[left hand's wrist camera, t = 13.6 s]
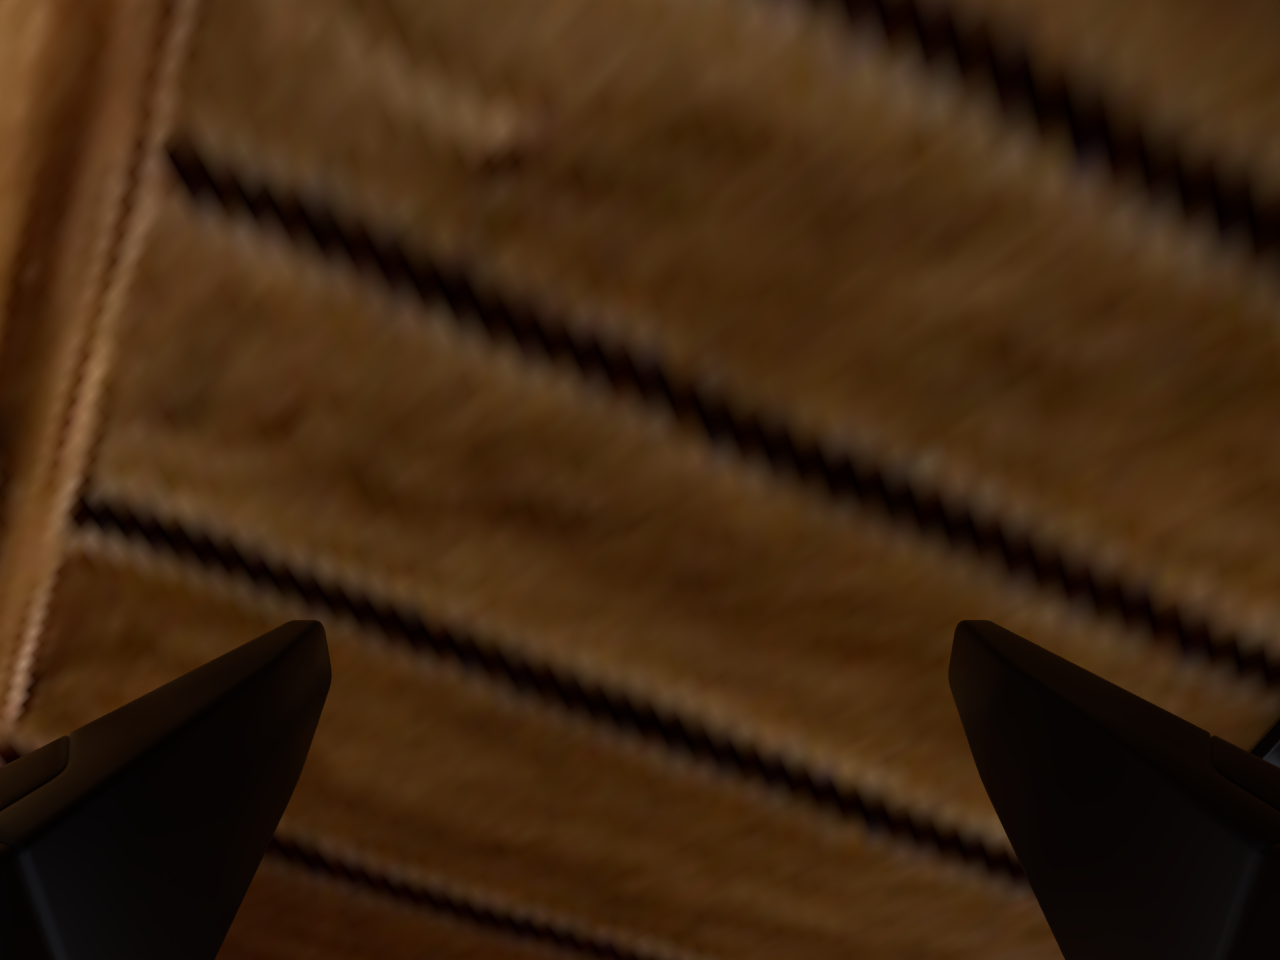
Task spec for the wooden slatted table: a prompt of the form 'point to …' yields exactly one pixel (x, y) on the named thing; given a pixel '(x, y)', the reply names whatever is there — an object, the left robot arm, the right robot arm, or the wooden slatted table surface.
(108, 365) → the wooden slatted table surface
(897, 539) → the wooden slatted table surface
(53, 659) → the wooden slatted table surface
